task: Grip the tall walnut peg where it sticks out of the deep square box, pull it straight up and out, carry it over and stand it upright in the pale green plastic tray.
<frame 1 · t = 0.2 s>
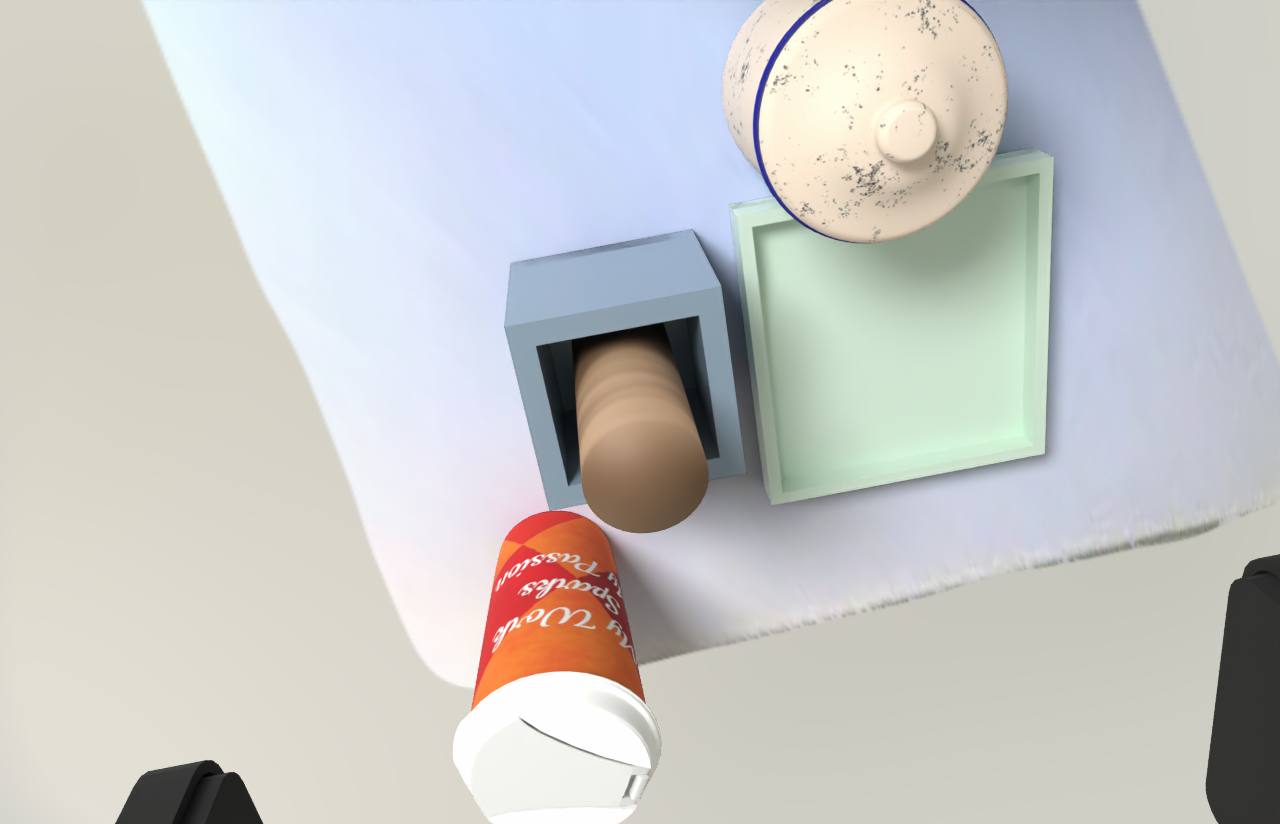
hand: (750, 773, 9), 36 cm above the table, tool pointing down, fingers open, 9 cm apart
coffee cup: (554, 555, 51), on the table
peg: (618, 338, 45), point 1 cm above the table, touching deep square box
teacup with lid: (807, 51, 41), on the table
deep square box: (617, 330, 46), on the table
tray: (888, 328, 47), on the table
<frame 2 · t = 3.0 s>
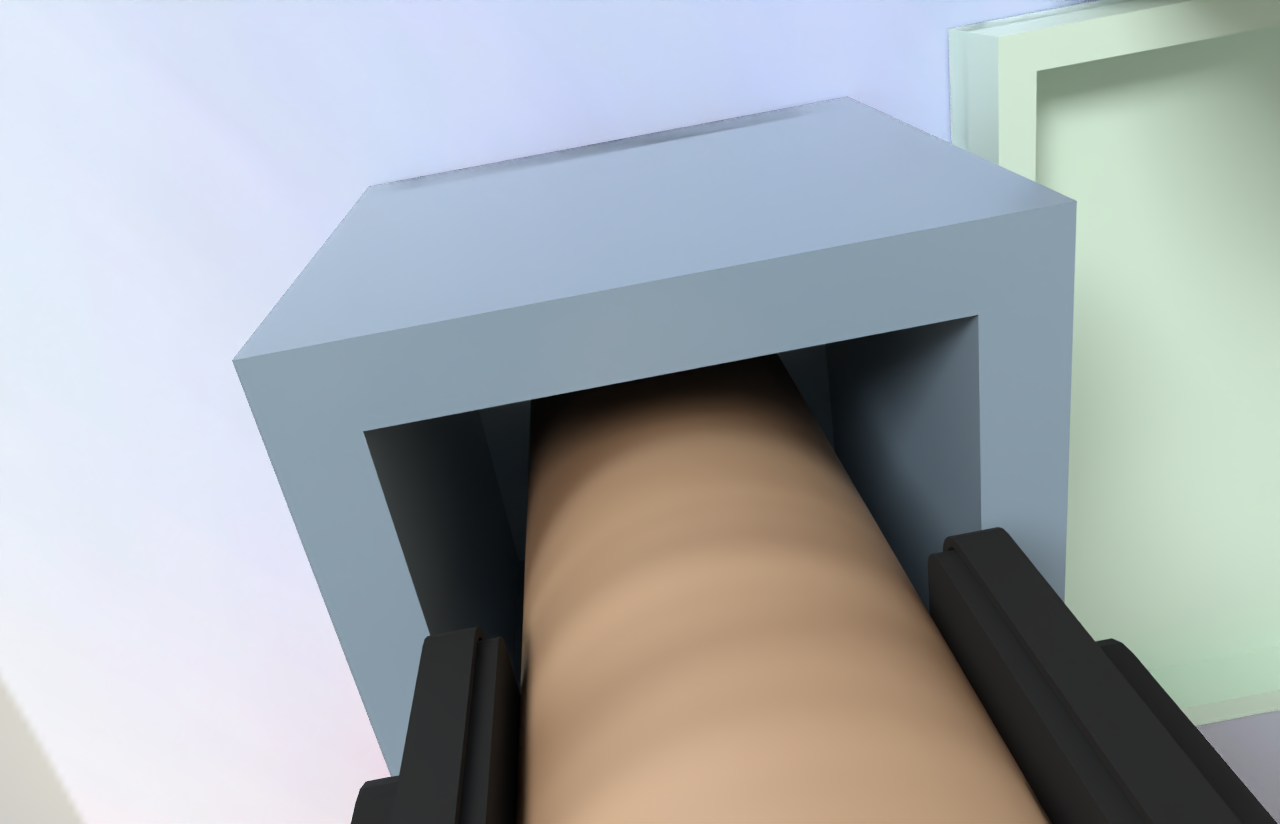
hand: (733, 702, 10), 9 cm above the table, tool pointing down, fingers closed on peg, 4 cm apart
peg: (653, 383, 18), point 1 cm above the table, touching deep square box, gripper
deep square box: (648, 362, 18), on the table
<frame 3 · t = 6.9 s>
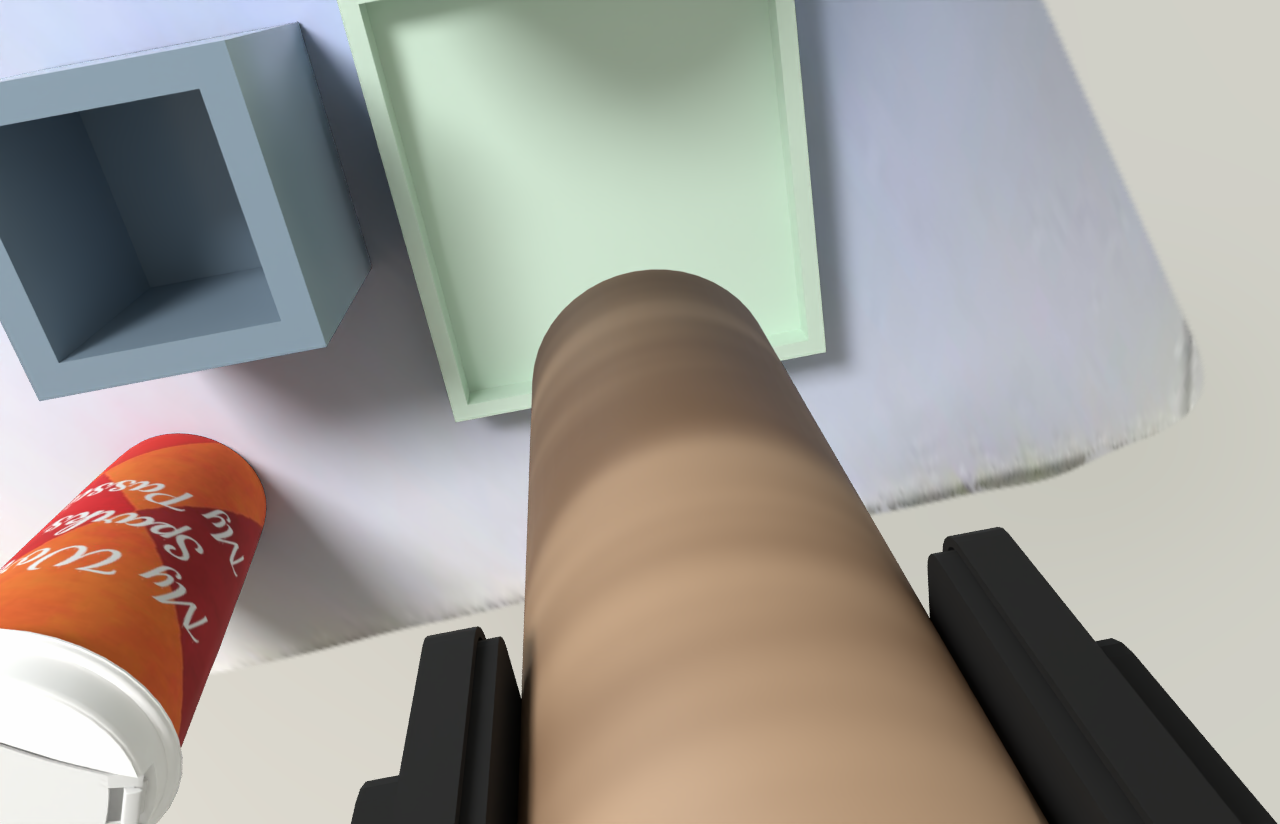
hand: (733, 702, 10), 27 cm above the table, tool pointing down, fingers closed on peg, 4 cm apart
coffee cup: (189, 496, 39), on the table
peg: (653, 386, 18), point 19 cm above the table, touching gripper
deep square box: (217, 173, 33), on the table
tray: (601, 175, 34), on the table
when the fingers open (11 cm above the table, at t = 10.6 s): peg drops 1 cm, resting on tray.
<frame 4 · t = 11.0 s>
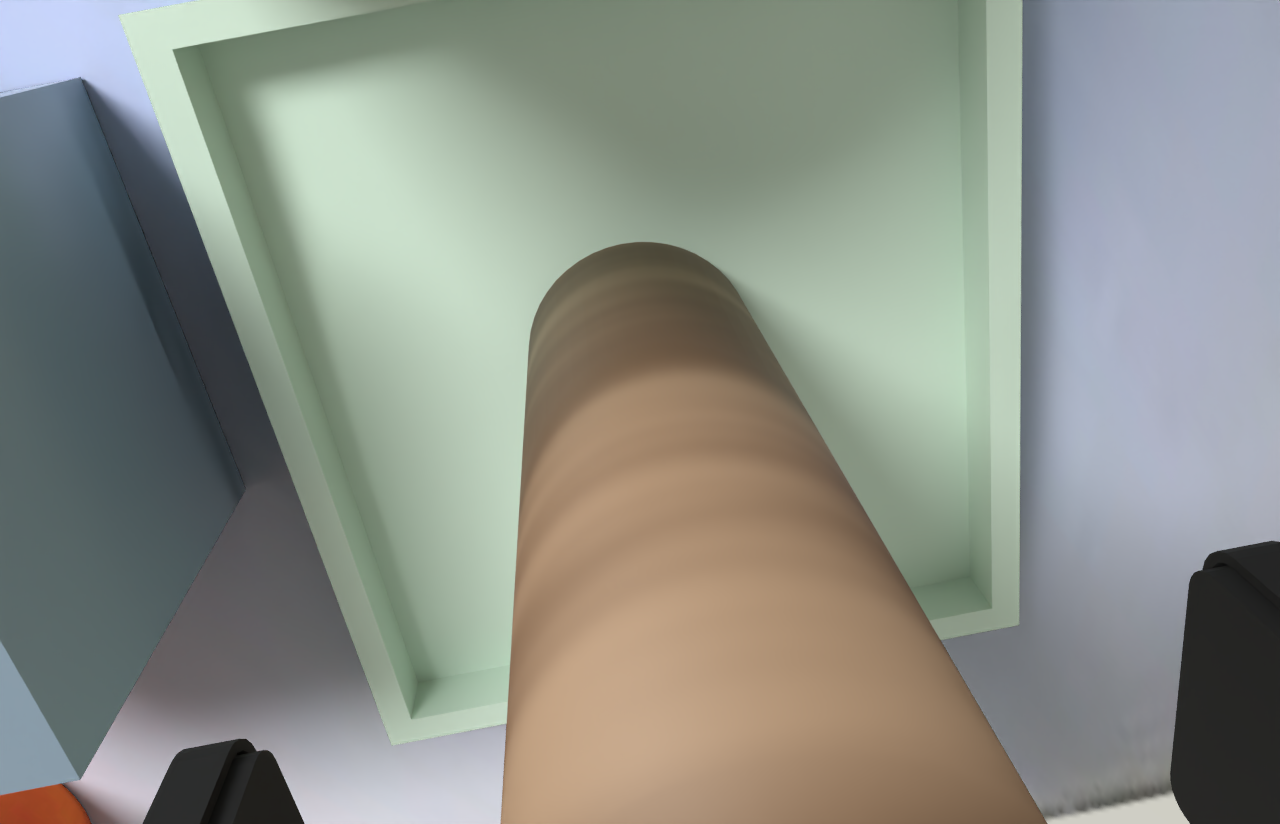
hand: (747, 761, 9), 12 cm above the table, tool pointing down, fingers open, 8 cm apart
peg: (641, 351, 19), point 1 cm above the table, touching tray
tray: (641, 338, 20), on the table
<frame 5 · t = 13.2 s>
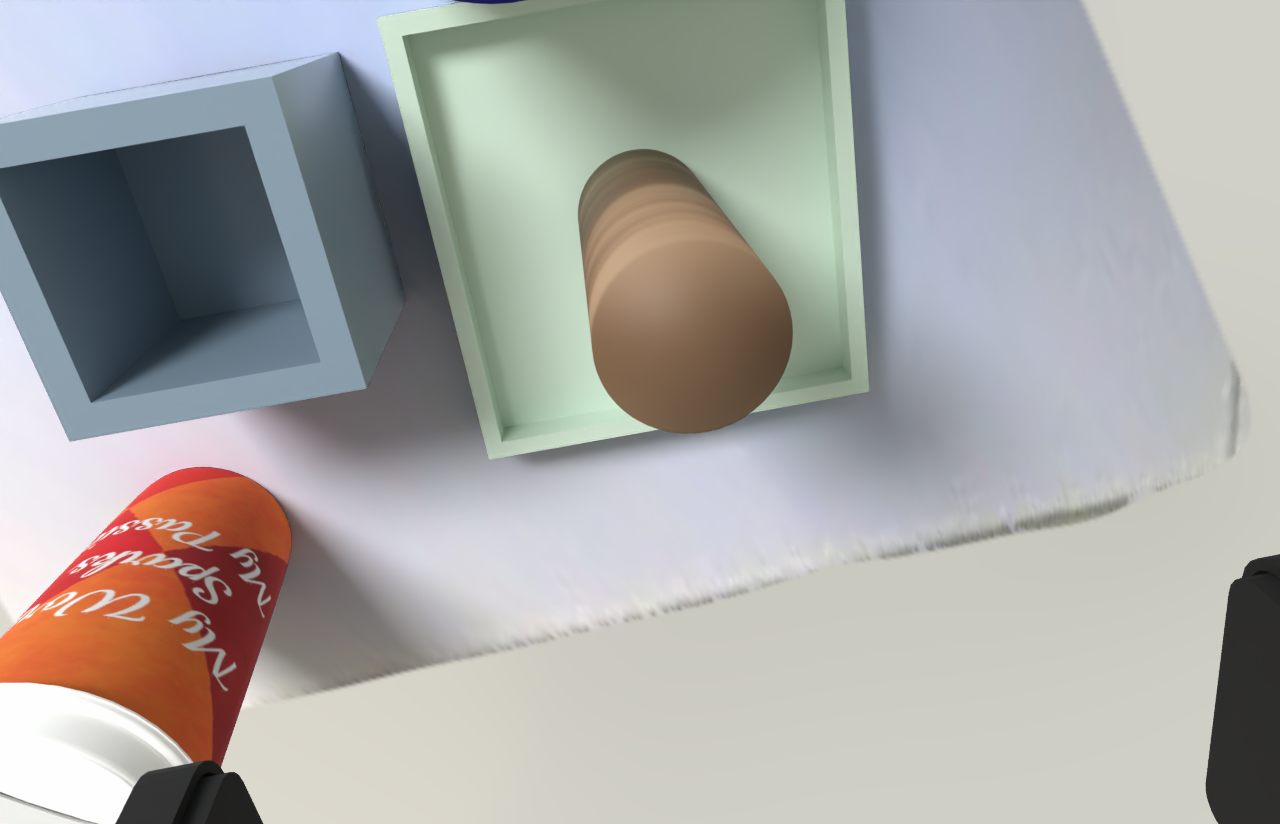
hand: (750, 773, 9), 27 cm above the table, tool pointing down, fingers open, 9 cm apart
coffee cup: (213, 530, 38), on the table
peg: (642, 215, 33), point 1 cm above the table, touching tray
deep square box: (250, 204, 32), on the table
tray: (642, 210, 34), on the table
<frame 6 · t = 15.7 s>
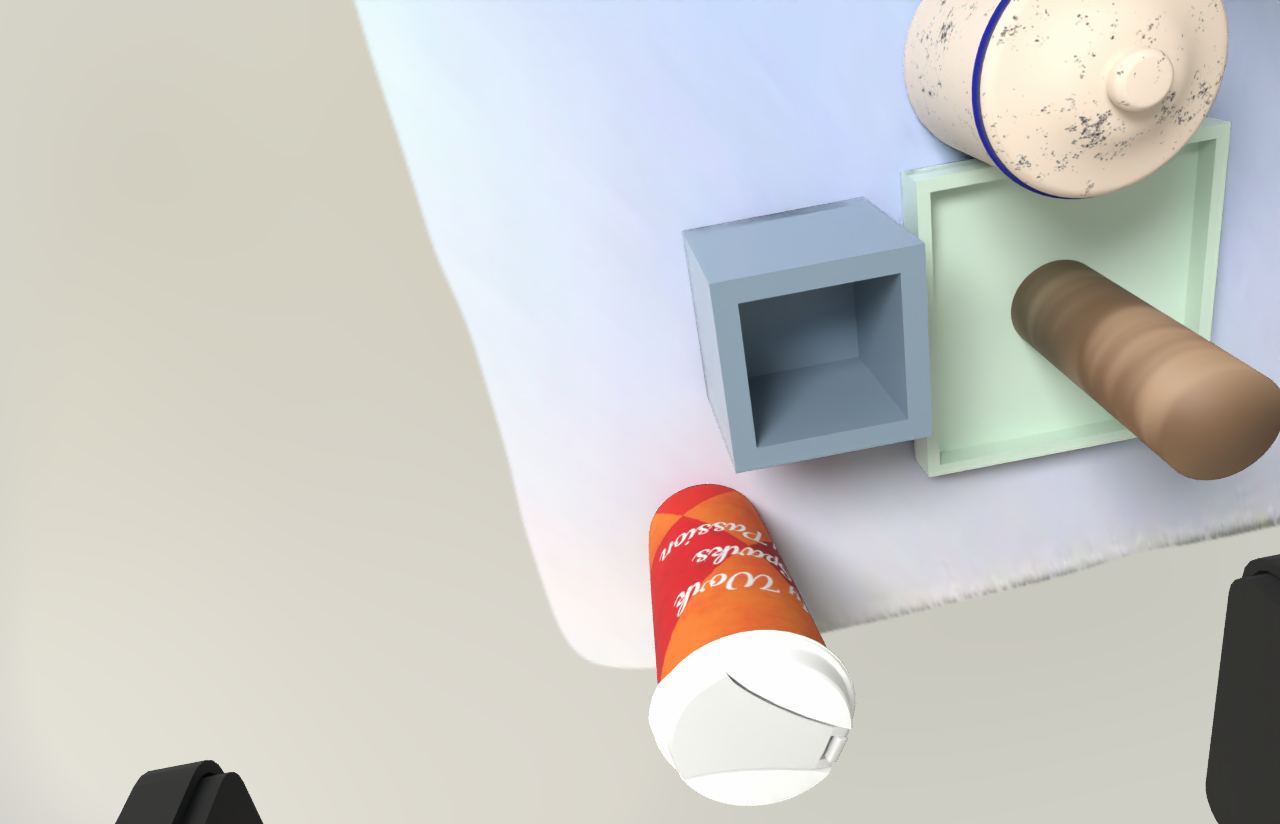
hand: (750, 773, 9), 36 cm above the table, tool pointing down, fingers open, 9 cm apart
coffee cup: (702, 530, 51), on the table
peg: (1056, 303, 46), point 1 cm above the table, touching tray
teacup with lid: (987, 17, 41), on the table
deep square box: (782, 300, 46), on the table
tray: (1049, 298, 47), on the table
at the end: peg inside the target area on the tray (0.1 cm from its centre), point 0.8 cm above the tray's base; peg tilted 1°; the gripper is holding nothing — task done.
